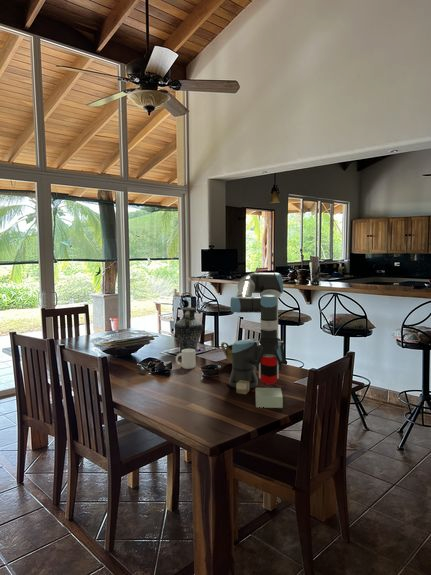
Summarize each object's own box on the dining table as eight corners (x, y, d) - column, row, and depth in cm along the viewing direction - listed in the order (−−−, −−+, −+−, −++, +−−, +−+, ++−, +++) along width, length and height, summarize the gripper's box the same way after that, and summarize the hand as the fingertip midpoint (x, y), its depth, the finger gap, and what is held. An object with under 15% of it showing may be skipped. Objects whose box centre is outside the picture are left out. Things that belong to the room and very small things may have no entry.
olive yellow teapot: (249, 359, 272) (249, 336, 271) (261, 366, 257) (261, 341, 255) (217, 362, 264) (216, 339, 263) (227, 370, 249) (227, 345, 247)
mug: (177, 370, 250) (176, 353, 249) (174, 366, 258) (174, 349, 257) (196, 368, 254) (196, 351, 253) (193, 364, 262) (193, 348, 260)
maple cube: (245, 394, 210) (245, 384, 210) (236, 393, 212) (236, 383, 212) (249, 391, 215) (249, 381, 214) (240, 389, 217) (239, 380, 216)
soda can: (263, 377, 202) (263, 353, 201) (278, 379, 199) (278, 354, 198) (258, 382, 195) (258, 357, 194) (274, 384, 193) (274, 358, 191)
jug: (174, 348, 302) (173, 306, 299) (202, 347, 304) (201, 305, 301) (175, 355, 282) (174, 311, 278) (204, 354, 284) (203, 310, 280)
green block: (255, 407, 193) (255, 396, 193) (255, 397, 205) (255, 387, 205) (282, 407, 192) (282, 397, 192) (280, 398, 204) (280, 388, 204)
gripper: (246, 330, 192) (246, 379, 194) (292, 330, 191) (291, 380, 193) (246, 327, 200) (246, 374, 202) (290, 327, 198) (290, 375, 200)
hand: (268, 377), depth 197 cm, fingers closed on soda can, 7 cm apart
